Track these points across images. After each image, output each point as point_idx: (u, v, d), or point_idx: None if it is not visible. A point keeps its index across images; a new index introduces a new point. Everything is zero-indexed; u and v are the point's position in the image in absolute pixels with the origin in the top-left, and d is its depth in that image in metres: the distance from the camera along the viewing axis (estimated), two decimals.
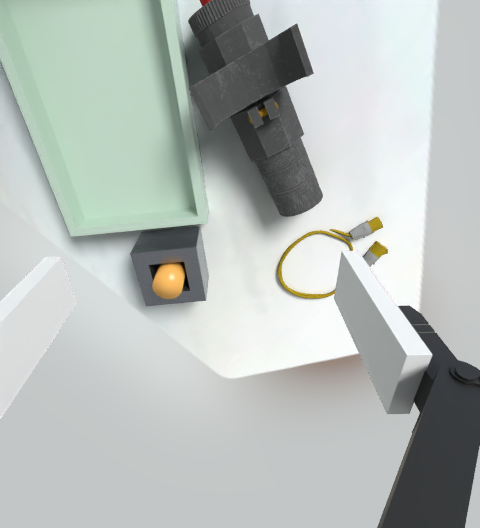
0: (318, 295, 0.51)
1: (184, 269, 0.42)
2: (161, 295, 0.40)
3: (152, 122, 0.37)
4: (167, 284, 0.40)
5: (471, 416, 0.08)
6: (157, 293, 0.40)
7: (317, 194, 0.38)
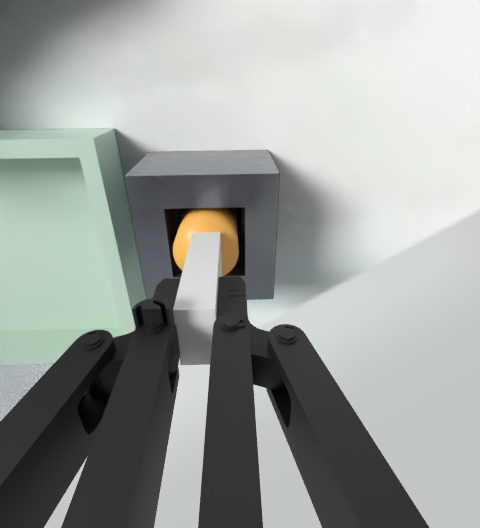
0: None
1: None
2: (227, 267, 0.19)
3: None
4: None
5: (242, 353, 0.10)
6: None
7: None
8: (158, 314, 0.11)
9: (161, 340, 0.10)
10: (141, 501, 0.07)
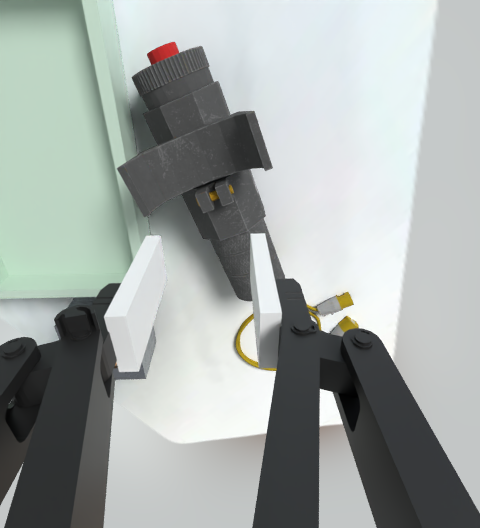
0: None
1: None
2: None
3: (88, 178, 0.31)
4: None
5: (311, 359, 0.10)
6: None
7: None
8: (84, 320, 0.10)
9: (90, 346, 0.10)
10: (86, 503, 0.07)
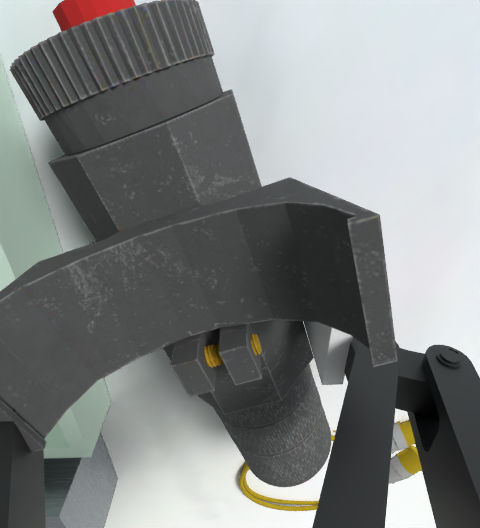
0: (306, 504, 0.31)
1: None
2: None
3: None
4: None
5: (387, 380, 0.09)
6: None
7: (322, 451, 0.18)
8: None
9: None
10: (23, 520, 0.07)
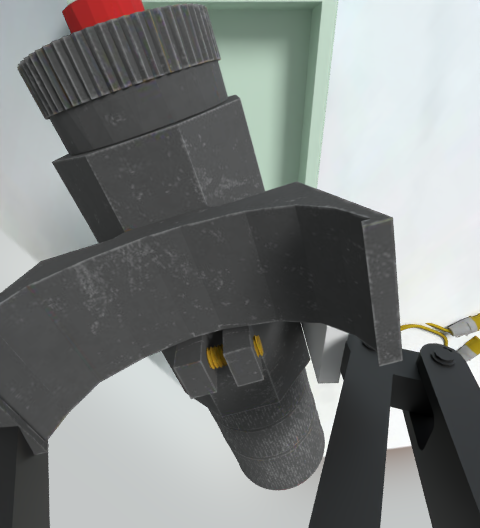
0: None
1: None
2: None
3: None
4: None
5: (382, 378, 0.09)
6: None
7: (316, 453, 0.18)
8: None
9: None
10: (27, 519, 0.07)
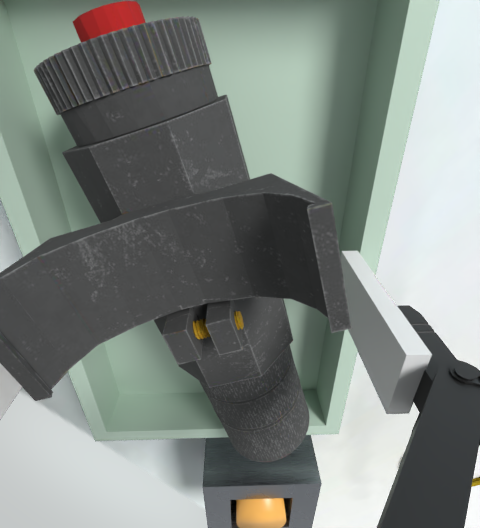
0: None
1: None
2: None
3: None
4: (262, 519, 0.23)
5: (470, 416, 0.08)
6: (243, 527, 0.24)
7: (300, 429, 0.20)
8: None
9: None
10: None
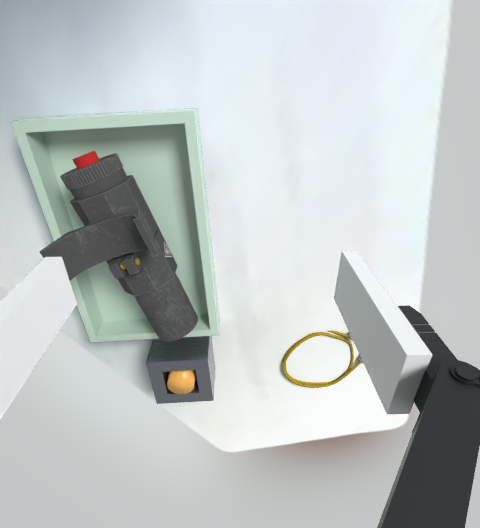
0: (321, 384, 0.54)
1: None
2: (174, 391, 0.45)
3: (173, 248, 0.40)
4: (181, 383, 0.44)
5: (471, 416, 0.08)
6: (171, 389, 0.44)
7: (188, 325, 0.40)
8: None
9: None
10: None
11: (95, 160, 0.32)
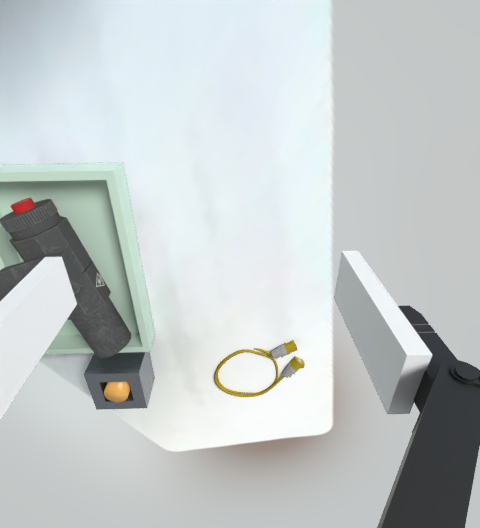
0: (251, 394, 0.60)
1: None
2: (111, 399, 0.50)
3: (108, 276, 0.46)
4: (116, 392, 0.50)
5: (471, 416, 0.08)
6: (108, 397, 0.50)
7: (120, 344, 0.46)
8: None
9: None
10: None
11: (30, 207, 0.37)
